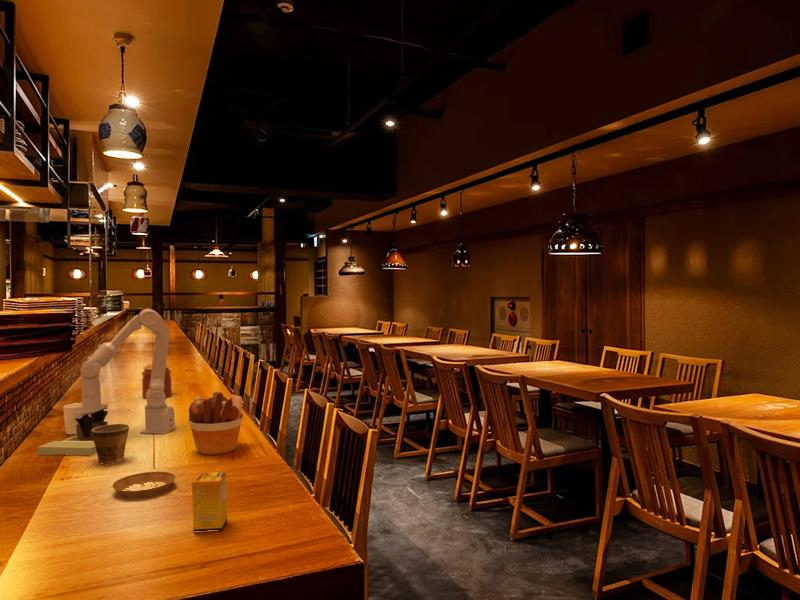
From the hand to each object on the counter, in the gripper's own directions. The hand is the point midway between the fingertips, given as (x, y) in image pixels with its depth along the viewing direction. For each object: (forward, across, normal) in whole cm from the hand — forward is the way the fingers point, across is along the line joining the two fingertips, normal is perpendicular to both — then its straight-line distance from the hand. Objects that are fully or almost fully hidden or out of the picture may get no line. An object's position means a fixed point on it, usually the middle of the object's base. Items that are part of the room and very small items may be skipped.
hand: (92, 434), depth 195 cm
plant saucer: (+2, +45, +46) cm, 64 cm away
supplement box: (+2, +65, +73) cm, 98 cm away
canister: (+2, -71, -17) cm, 73 cm away
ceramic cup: (+2, +23, +21) cm, 31 cm away
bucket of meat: (+2, +11, +50) cm, 51 cm away
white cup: (+2, -7, -11) cm, 13 cm away
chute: (+1, 0, 0) cm, 1 cm away
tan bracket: (+1, +12, +4) cm, 13 cm away
